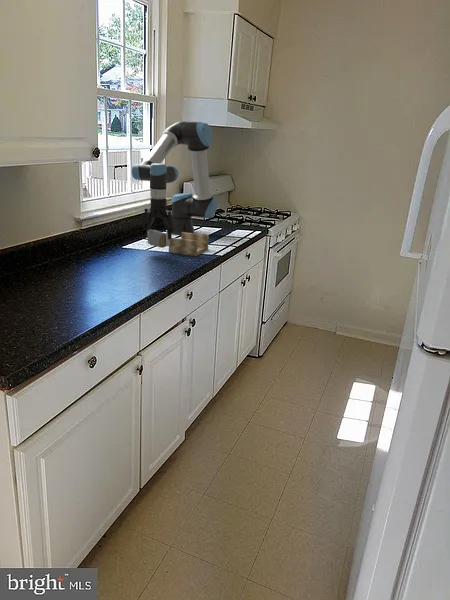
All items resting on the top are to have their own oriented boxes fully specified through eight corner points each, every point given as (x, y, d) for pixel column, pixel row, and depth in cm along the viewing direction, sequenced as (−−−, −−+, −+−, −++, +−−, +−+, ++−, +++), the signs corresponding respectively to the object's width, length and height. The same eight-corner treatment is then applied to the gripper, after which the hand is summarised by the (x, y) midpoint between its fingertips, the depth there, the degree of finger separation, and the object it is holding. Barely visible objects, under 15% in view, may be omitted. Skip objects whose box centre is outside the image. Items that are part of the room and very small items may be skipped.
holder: (168, 252, 245) (168, 237, 242) (182, 245, 260) (182, 232, 257) (196, 256, 241) (196, 241, 238) (208, 249, 255) (208, 235, 253)
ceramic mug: (160, 249, 232) (160, 233, 229) (147, 246, 236) (147, 230, 233) (174, 245, 240) (174, 230, 237) (161, 242, 244) (161, 227, 242)
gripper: (133, 196, 228) (135, 243, 236) (176, 201, 222) (176, 248, 230) (141, 194, 235) (142, 240, 243) (183, 198, 228) (182, 245, 236)
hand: (158, 244), depth 236 cm, fingers closed on ceramic mug, 9 cm apart
